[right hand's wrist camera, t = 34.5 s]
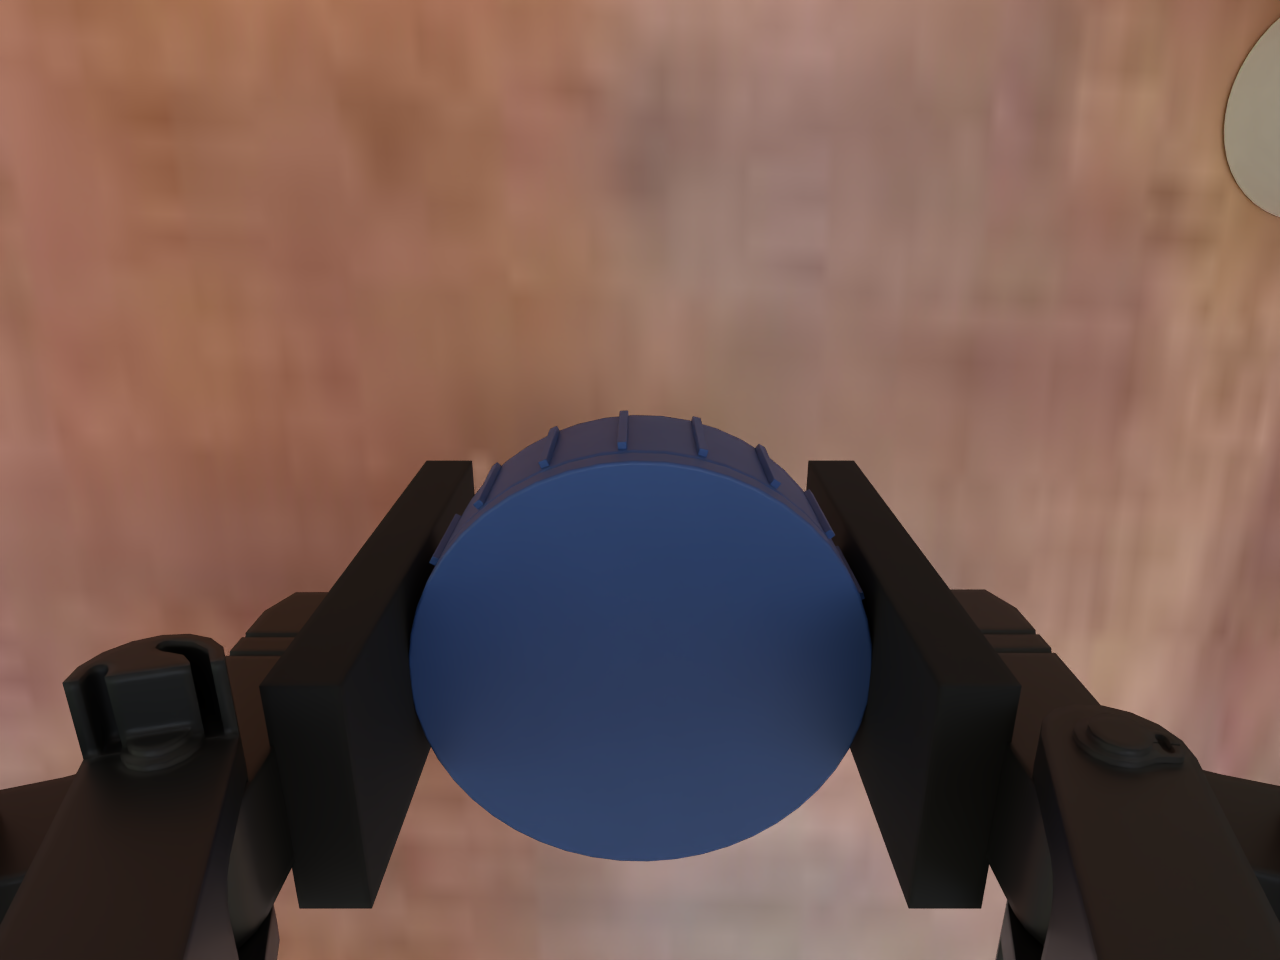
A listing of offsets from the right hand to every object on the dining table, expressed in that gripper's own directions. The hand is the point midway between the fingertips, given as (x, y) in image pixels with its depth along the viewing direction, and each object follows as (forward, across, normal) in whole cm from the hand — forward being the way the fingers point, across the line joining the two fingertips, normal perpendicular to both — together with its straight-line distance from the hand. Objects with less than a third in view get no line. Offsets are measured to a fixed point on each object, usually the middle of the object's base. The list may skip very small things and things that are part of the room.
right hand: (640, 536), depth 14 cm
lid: (-4, 0, 0) cm, 4 cm away
